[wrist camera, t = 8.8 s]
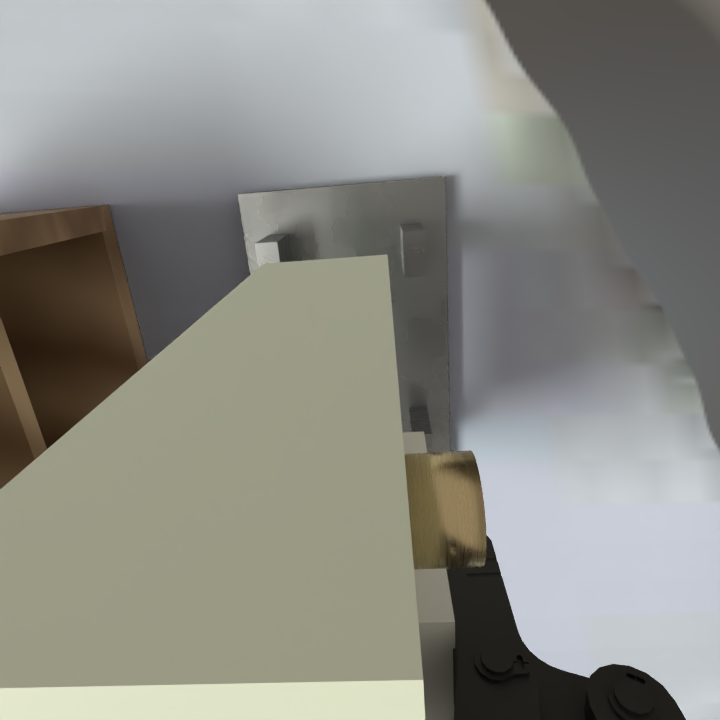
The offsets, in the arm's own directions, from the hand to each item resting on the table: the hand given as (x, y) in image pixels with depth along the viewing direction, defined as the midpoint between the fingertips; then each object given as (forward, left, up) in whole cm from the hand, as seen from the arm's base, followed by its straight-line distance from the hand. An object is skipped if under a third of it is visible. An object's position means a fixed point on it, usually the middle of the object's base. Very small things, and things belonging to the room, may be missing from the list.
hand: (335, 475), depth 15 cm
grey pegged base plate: (0, 0, -13) cm, 13 cm away
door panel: (0, 0, -3) cm, 3 cm away
